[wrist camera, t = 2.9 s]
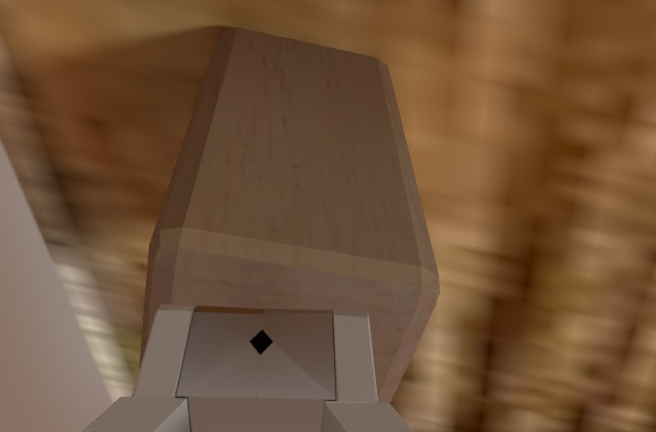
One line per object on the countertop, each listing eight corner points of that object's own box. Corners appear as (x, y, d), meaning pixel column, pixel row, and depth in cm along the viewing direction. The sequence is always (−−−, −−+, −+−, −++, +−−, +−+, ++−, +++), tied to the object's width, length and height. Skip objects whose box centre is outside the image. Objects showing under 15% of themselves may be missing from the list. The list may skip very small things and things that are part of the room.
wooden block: (202, 166, 41) (130, 434, 25) (221, 17, 35) (144, 241, 19) (350, 192, 42) (373, 462, 26) (392, 55, 36) (455, 291, 20)
